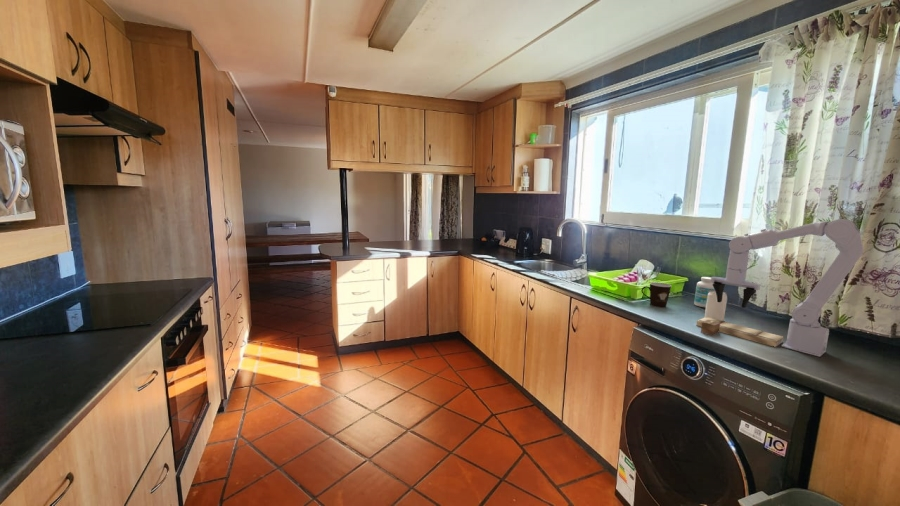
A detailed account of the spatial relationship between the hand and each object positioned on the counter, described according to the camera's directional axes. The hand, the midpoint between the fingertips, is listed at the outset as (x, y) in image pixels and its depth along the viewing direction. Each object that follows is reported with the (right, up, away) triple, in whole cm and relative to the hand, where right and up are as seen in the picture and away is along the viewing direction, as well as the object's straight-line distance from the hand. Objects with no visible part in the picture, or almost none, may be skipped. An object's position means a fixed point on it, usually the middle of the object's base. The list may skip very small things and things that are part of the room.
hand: (731, 304), depth 135 cm
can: (+4, -9, +14) cm, 17 cm away
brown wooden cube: (-8, -11, 0) cm, 13 cm away
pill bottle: (+13, -6, +33) cm, 36 cm away
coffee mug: (-10, -5, +33) cm, 35 cm away
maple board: (+2, -11, -1) cm, 11 cm away
